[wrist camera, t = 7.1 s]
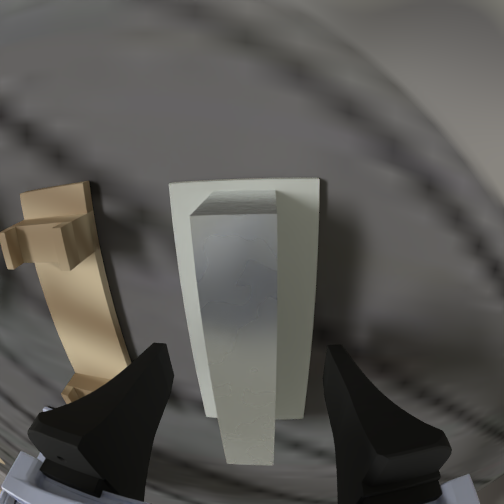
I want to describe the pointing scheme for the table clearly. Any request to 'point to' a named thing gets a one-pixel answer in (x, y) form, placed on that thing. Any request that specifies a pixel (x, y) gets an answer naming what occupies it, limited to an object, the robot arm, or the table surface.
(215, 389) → the rail
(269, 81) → the table surface
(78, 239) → the rack
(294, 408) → the mat
